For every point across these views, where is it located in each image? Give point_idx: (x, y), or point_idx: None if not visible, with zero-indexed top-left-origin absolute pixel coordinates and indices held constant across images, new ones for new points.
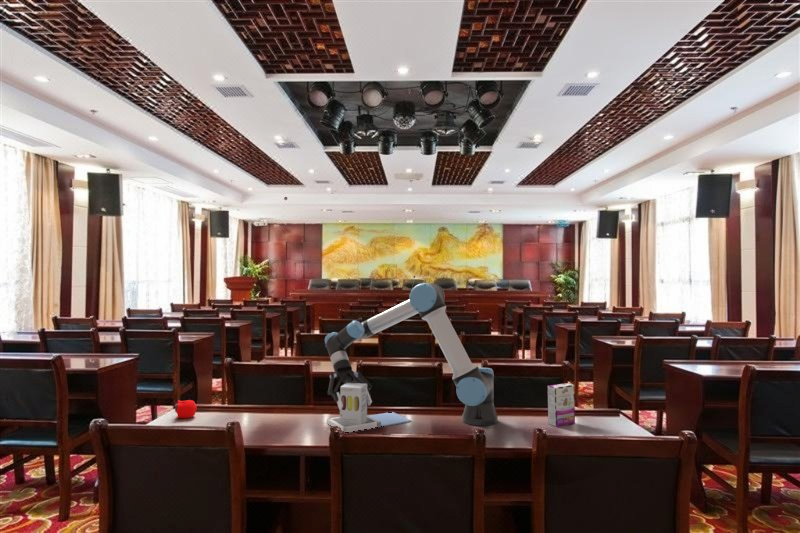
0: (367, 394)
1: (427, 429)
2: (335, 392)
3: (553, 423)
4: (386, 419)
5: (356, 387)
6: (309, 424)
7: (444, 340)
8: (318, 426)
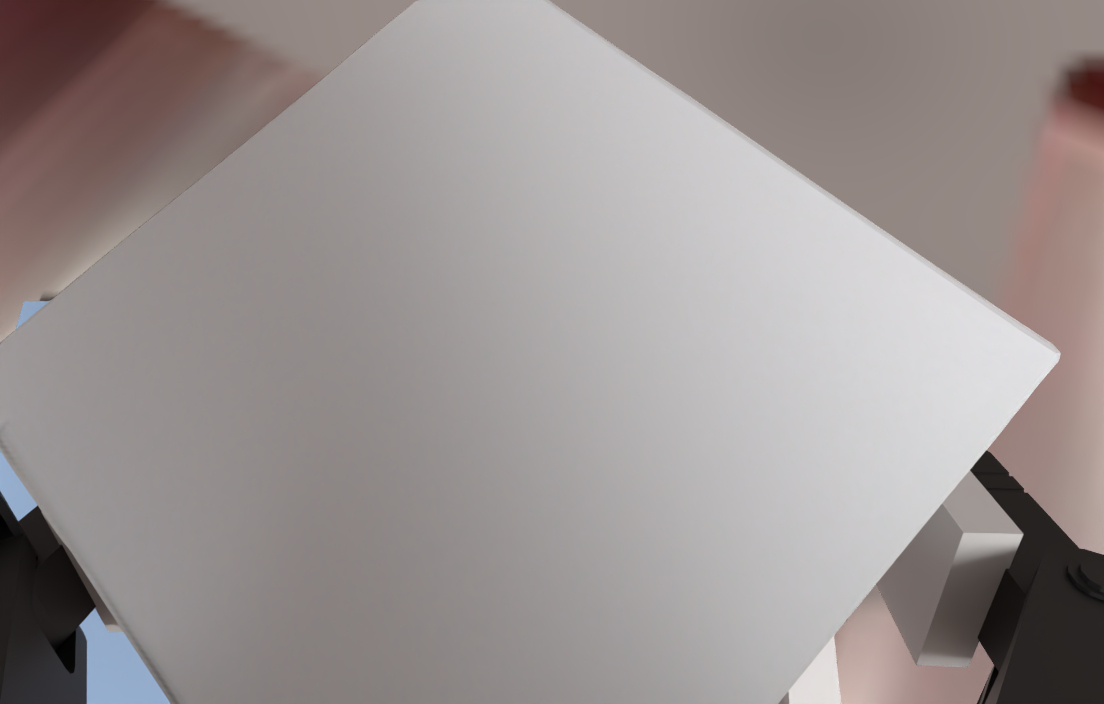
0: None
1: (109, 80)
2: (1067, 551)
3: None
4: None
5: (571, 30)
6: None
7: None
8: (964, 697)
